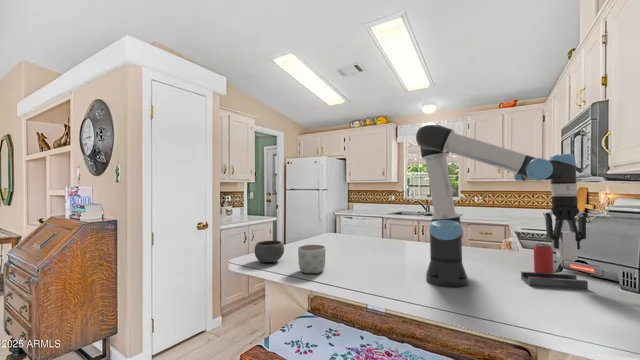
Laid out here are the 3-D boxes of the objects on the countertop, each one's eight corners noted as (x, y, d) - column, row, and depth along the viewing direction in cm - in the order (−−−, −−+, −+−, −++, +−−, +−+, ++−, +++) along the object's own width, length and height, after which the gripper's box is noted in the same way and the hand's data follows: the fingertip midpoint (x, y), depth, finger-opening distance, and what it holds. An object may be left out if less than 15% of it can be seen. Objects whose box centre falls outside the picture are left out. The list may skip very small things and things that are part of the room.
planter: (320, 276, 126) (320, 251, 126) (293, 274, 130) (293, 249, 130) (329, 268, 138) (328, 245, 138) (304, 266, 142) (304, 243, 142)
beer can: (556, 275, 123) (556, 246, 123) (538, 275, 124) (538, 246, 124) (548, 271, 129) (547, 243, 129) (531, 270, 131) (530, 243, 131)
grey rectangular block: (563, 259, 110) (562, 232, 111) (558, 256, 114) (556, 230, 114) (576, 259, 109) (575, 232, 110) (570, 257, 113) (569, 230, 113)
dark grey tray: (529, 286, 111) (529, 277, 111) (521, 278, 119) (520, 271, 120) (587, 289, 106) (587, 281, 107) (574, 282, 115) (574, 274, 115)
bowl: (249, 265, 145) (249, 245, 146) (260, 258, 160) (260, 239, 160) (279, 266, 143) (278, 245, 143) (287, 258, 158) (287, 240, 158)
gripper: (542, 196, 111) (545, 259, 110) (597, 195, 106) (601, 261, 106) (533, 195, 118) (536, 254, 118) (585, 194, 114) (588, 256, 113)
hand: (566, 257), depth 112 cm, fingers closed on grey rectangular block, 4 cm apart
